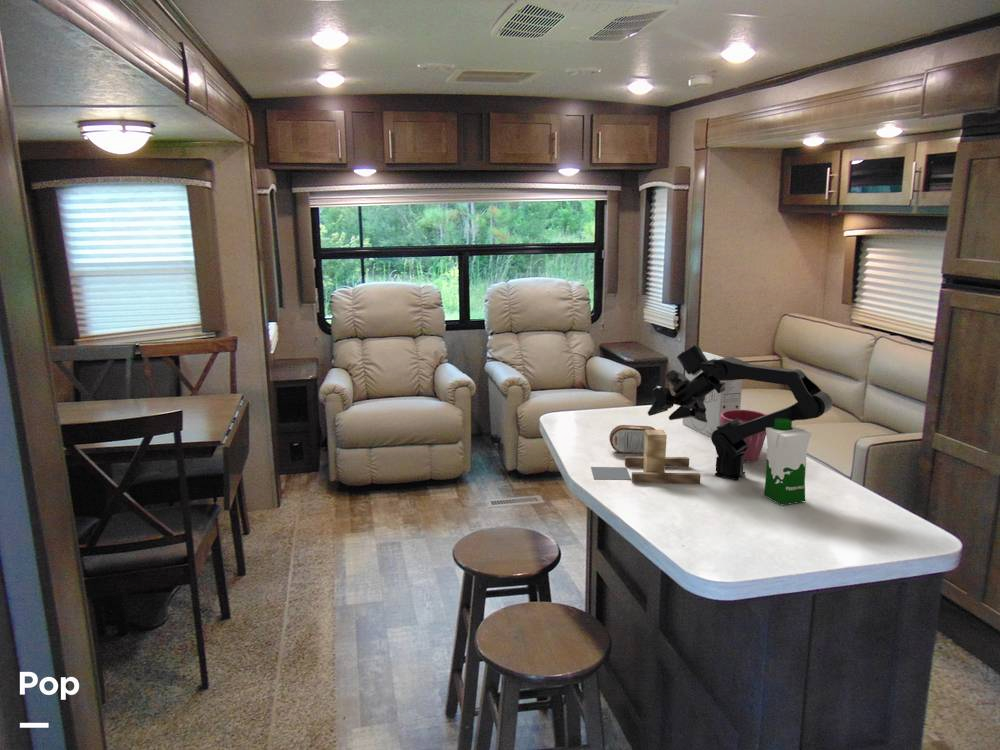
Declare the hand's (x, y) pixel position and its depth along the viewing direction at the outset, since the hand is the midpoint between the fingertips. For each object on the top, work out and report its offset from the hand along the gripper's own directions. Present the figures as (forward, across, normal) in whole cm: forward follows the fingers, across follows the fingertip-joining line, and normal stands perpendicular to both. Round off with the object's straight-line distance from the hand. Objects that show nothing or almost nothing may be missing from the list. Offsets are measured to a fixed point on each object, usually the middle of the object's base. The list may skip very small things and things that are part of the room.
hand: (659, 416), depth 215 cm
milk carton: (-22, -6, +37) cm, 43 cm away
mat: (+11, +16, +15) cm, 24 cm away
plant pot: (-6, -25, +14) cm, 29 cm away
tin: (+14, -2, +4) cm, 15 cm away
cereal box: (+9, -38, -6) cm, 39 cm away
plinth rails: (+3, +5, +18) cm, 19 cm away
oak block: (+4, +7, +17) cm, 19 cm away
